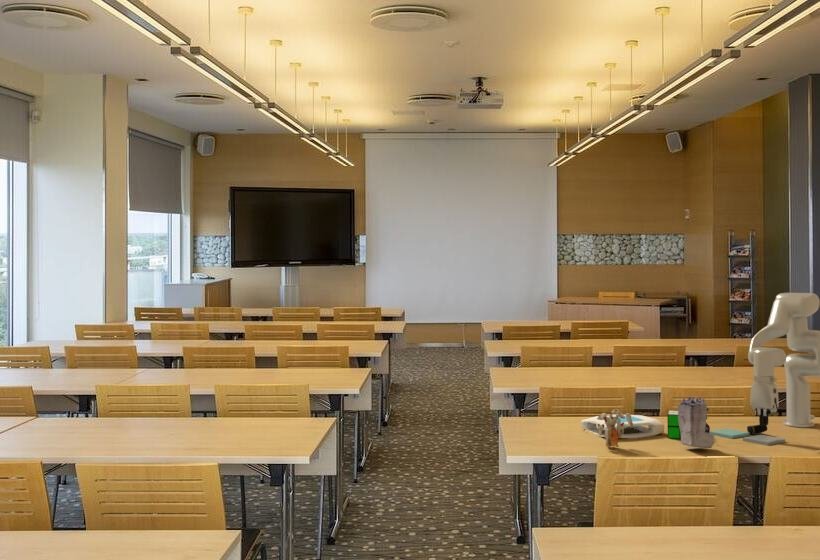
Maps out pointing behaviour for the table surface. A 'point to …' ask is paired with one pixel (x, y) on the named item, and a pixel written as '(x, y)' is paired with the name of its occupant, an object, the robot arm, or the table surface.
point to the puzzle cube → (673, 425)
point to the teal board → (729, 433)
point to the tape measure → (756, 429)
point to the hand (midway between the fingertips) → (763, 425)
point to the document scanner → (637, 421)
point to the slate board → (764, 439)
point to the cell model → (694, 423)
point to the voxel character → (613, 427)
